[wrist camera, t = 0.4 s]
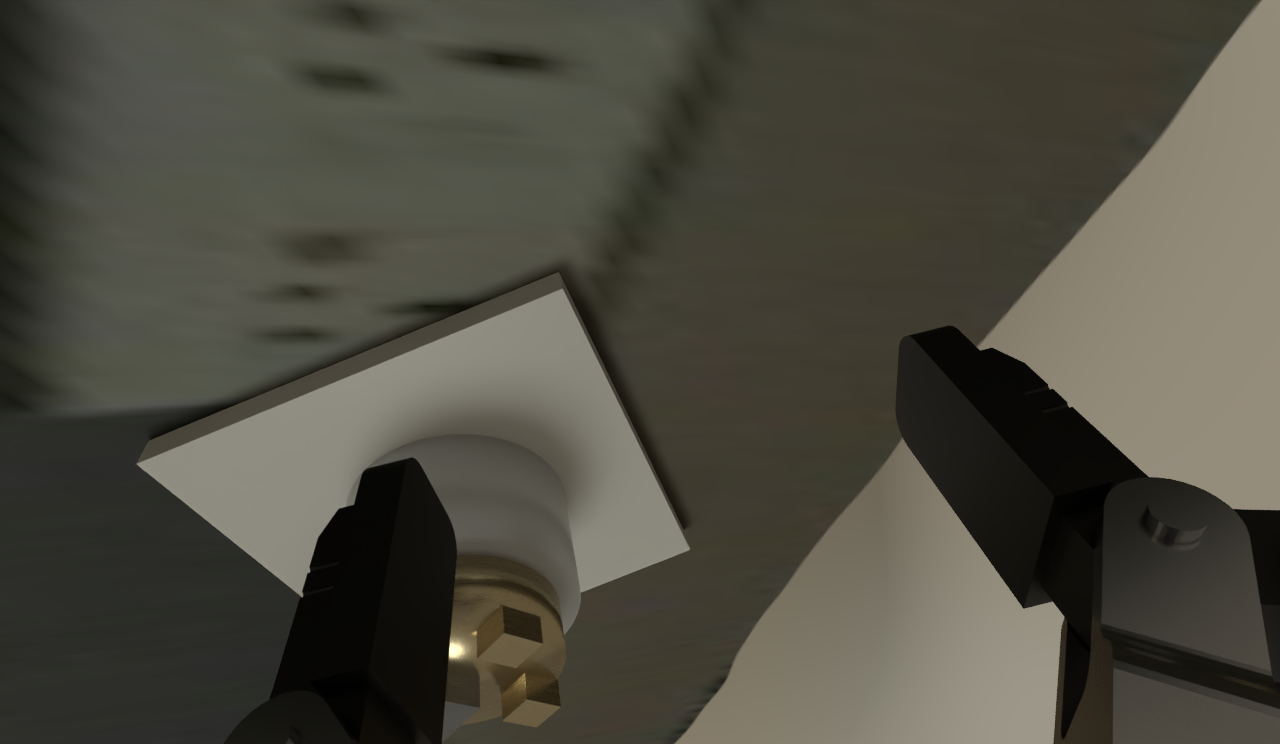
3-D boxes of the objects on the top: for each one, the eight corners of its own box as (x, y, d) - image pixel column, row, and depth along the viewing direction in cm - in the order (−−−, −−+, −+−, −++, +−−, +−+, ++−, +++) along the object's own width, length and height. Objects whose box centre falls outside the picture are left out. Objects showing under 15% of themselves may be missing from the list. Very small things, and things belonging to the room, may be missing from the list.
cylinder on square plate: (149, 440, 30) (73, 579, 24) (558, 271, 29) (582, 373, 24) (391, 645, 43) (380, 769, 37) (683, 530, 42) (719, 638, 36)
